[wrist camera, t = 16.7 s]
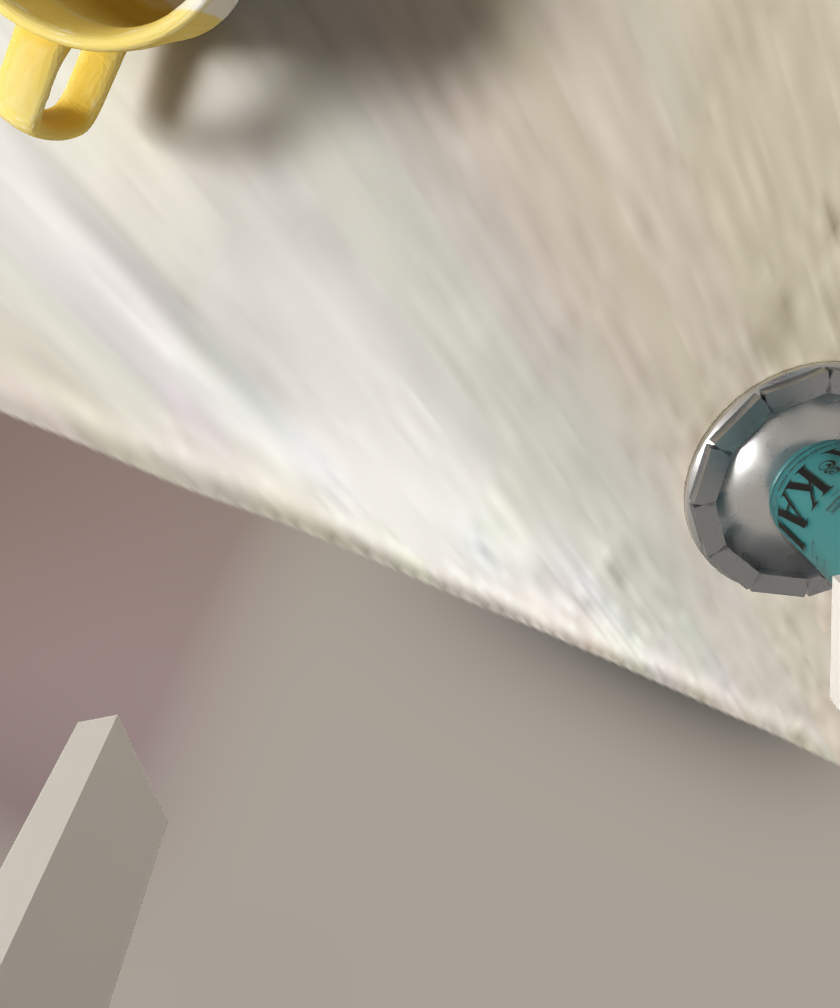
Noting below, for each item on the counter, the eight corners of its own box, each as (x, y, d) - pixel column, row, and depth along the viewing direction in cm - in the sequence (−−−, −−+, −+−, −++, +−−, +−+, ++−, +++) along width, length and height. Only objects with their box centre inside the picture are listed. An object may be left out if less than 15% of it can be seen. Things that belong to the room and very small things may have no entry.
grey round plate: (726, 344, 41) (736, 350, 40) (973, 379, 42) (989, 386, 41) (655, 574, 47) (662, 585, 46) (874, 598, 48) (886, 610, 47)
